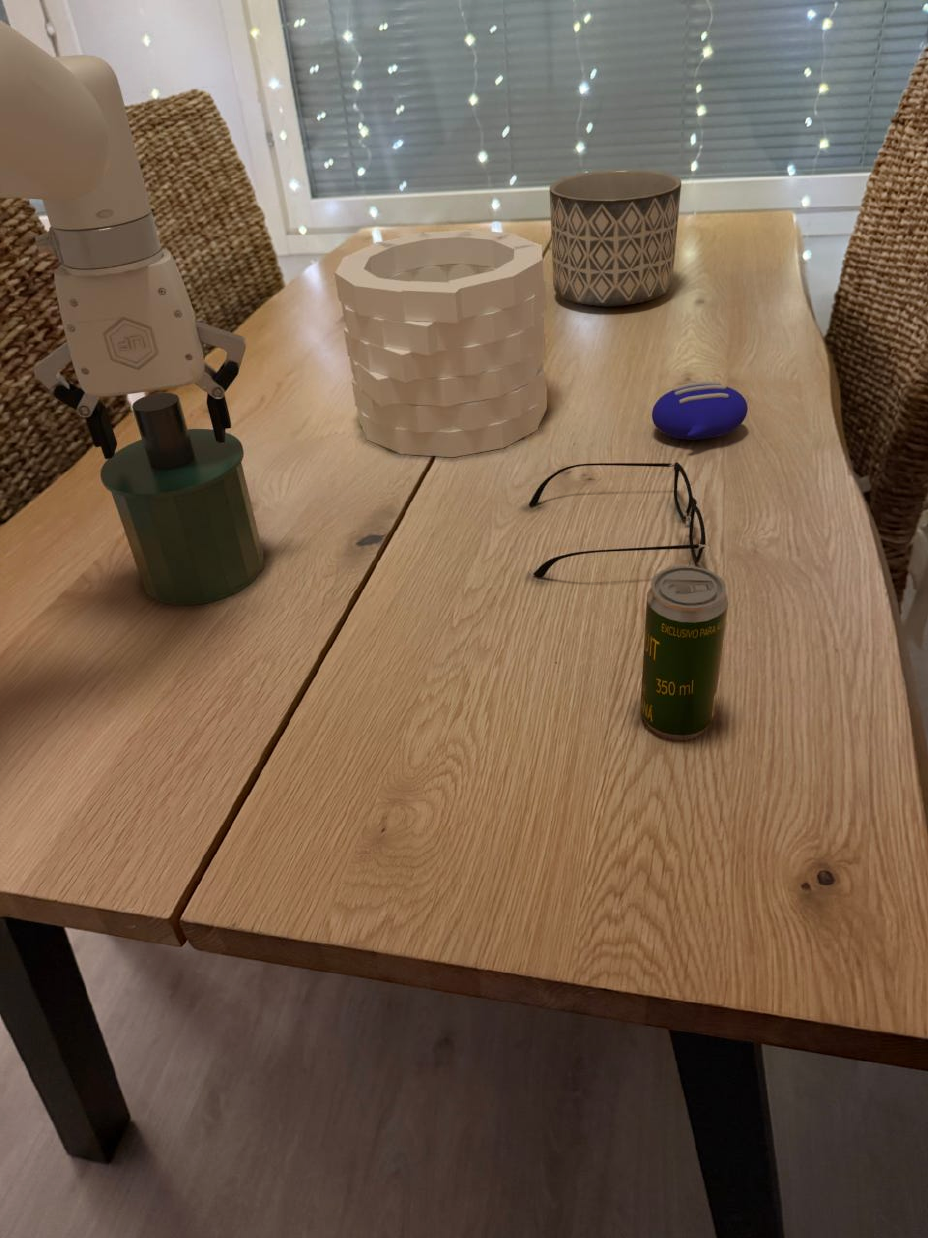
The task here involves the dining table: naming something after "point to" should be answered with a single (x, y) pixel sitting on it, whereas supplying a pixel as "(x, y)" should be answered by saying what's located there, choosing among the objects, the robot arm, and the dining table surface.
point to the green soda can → (682, 651)
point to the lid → (168, 454)
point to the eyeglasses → (692, 503)
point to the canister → (194, 542)
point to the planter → (614, 235)
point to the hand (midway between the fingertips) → (166, 444)
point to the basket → (446, 340)
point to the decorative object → (699, 411)
